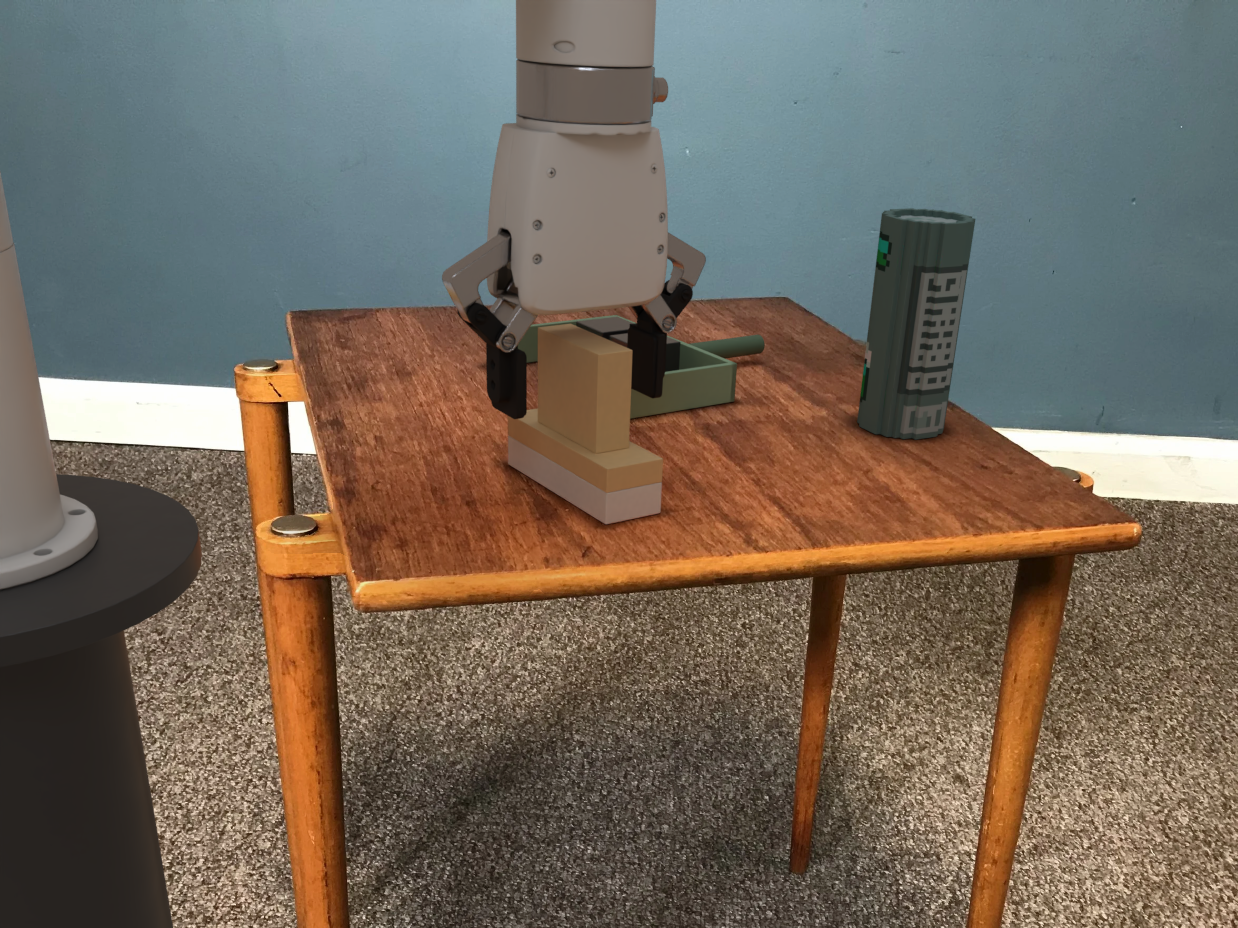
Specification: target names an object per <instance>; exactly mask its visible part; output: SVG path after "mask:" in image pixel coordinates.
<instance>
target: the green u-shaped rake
mask: <svg viewBox="0 0 1238 928" xmlns="http://www.w3.org/2000/svg"><path fill="white" fill-rule="evenodd" d="M610 317H619V318H622V319H624V320H627V321H629V322H632V323H636V322H635V321H632V320H630V319H628V318H626V317H623V316H621V315H618V314H613V315H603V316H594V317H587V318H577V319H570V320H569V319H568V320H561V321H560V320H559V321H551V322H543V323H535V324H534V323H532V325H531V326H530V328H529V329H528V331H527V332H526V334H525V335H524V337H523V338H522V340H521V341H520V343H519V344H518V349H520V350H522V351H524V352H525V353H526V356H527V364H528V363H536V362H537V363H538V327H546V326H554V325H563V324H573V325H575V326H576V322H577V321H584V320H592V319H601V318H610ZM667 337H669V338H672V339H674V340H677V341H679V342H681V343H680V362H679V370H675V371H668V372H665V376H664V378H663V390H662V396H661V397H659V398H650V397H648V396H646V395H644V394H642V393H640V392H638V391H635V390H633V389H631V407H630V420H632V419H637V418H643V417H650V416H654V415H661V414H667V413H673V412H680V411H685V410H691V409H697V408H704V407H710V406H717V405H721V404H728V403H733V402H736V401H735V399H736V386H737V385H736V384H737V374H738V373H737V371H738V363H737V362H734V361H732V360H729V359H731V358H732V359H733V358H739V357H747V356H753V355H760V354H762V353H763V352H764V350H765V345H766V344H765V339H764V337H763V336H762V335H761V334H749V335H744V336H736V337H729V338H721V339H713V340H706V341H699V342H690V343H688V342H685V341H682V340H679V339H677V338H675V337H672V336H670V335H667Z"/></svg>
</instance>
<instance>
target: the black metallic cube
mask: <svg viewBox="0 0 1238 928" xmlns="http://www.w3.org/2000/svg"><path fill="white" fill-rule="evenodd" d="M630 324H634V323H632V322H629V321H627V320H624V319H622V318H619V317H610V318H601V319H592V320H584V321H577V322H576V326H577V327H580V328H582V329H584V330H587V331H589V332H591V333H594V334H596V335H598V336H601V337H603V338H605V339H608V340H609V336H610V335H618V334H626V333H628V329H629V327H630Z"/></svg>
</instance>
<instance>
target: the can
mask: <svg viewBox="0 0 1238 928" xmlns="http://www.w3.org/2000/svg"><path fill="white" fill-rule="evenodd" d="M975 225H976V218H973V216H971V215H967V214H964V213H959V212H955V211H946V210H942V209H939V210H937V209H929V208H913V207H910V208H908V207H907V208H890V209H889V210H884V211H882V212H881V217H880V227H879V235H878V241H877V242H878V243H877V251H876V260H875V269H874V275H873V276H874V277H873V286H872V293H871V301H870V310H869V317H868V318H869V319H868V327H867V334H866V343H865V344H866V345H865V353H864V361H863V368H862V369H863V371H862V377H861V387H860V393H859V394H860V395H859V402H858V411H857V420H856V423H857V424H859V425H858V427H859V428H862V429H863V430H866V431H868V432H869V433H872V434H874V435H882V436H884V437H886V438H893V439H901V440H908V439H913V440H921V439H928V438H929V439H931V438H936V437H938V435H942V434H943V432H944V430H945V424H946V417H947V411H948V403H949V397H950V391H951V384H952V378H953V372H954V371H953V370H954V366H955V365H954V363H955V357H956V351H957V344H958V338H959V331H960V324H961V317H962V312H963V311H962V310H963V304H964V297H965V293H966V286H967V285H966V284H967V278H968V272H969V266H970V265H969V264H970V260H971V259H970V258H971V251H972V245H973V238H974V232H975Z"/></svg>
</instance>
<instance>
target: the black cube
mask: <svg viewBox="0 0 1238 928" xmlns="http://www.w3.org/2000/svg"><path fill="white" fill-rule="evenodd" d="M672 338H673V337H672ZM672 338H669V337H667V345H666V364H665V372H668V371H675V370H679V362H680V343H681V342H679V341H677V340H678V339H677V340H674V339H672ZM609 340H610V341H612V342H615V343H617V344H619V345H622V346H624V347H626V348H627V340H628V333H626V334H618V335H610V336H609Z"/></svg>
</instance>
